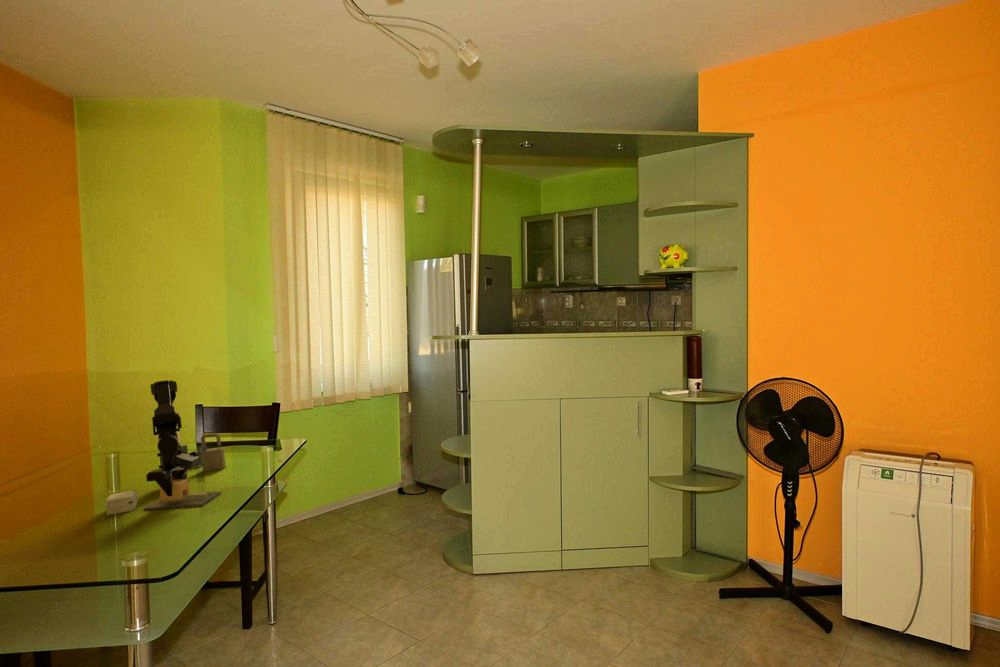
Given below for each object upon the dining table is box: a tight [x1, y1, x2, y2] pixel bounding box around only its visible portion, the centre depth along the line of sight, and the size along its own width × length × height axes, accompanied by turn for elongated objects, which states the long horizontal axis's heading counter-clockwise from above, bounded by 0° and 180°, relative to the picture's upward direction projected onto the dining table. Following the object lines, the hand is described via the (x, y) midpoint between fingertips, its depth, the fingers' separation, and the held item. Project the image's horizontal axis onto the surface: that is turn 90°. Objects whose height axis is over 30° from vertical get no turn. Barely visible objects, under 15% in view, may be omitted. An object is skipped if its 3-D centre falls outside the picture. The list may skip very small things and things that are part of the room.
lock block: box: [158, 478, 191, 500], centre depth 195 cm, size 7×5×5 cm
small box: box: [105, 489, 138, 515], centre depth 193 cm, size 8×8×5 cm
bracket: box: [181, 444, 208, 466], centre depth 246 cm, size 9×9×9 cm
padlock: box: [200, 432, 227, 472], centre depth 235 cm, size 4×8×15 cm, turn 98°
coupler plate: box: [143, 491, 222, 512], centre depth 195 cm, size 20×12×2 cm, turn 88°
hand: (174, 493), depth 195 cm, fingers closed on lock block, 5 cm apart
